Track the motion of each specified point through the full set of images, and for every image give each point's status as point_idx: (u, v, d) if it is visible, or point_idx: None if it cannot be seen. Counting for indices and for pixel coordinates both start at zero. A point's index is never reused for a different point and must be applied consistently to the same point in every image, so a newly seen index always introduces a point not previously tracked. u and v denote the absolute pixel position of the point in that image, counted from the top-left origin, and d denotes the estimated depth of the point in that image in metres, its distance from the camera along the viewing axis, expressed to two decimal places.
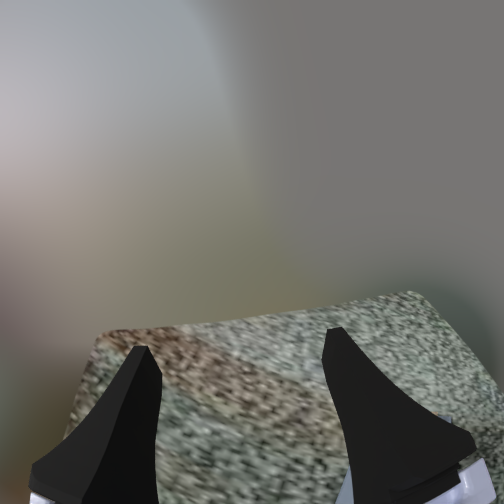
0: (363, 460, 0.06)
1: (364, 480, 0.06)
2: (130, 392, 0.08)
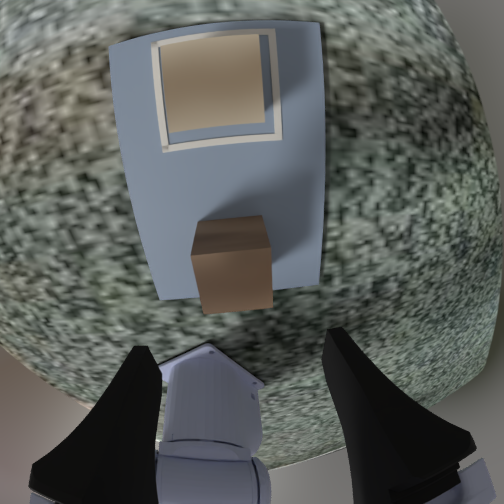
0: (363, 460, 0.06)
1: (364, 480, 0.06)
2: (130, 392, 0.08)
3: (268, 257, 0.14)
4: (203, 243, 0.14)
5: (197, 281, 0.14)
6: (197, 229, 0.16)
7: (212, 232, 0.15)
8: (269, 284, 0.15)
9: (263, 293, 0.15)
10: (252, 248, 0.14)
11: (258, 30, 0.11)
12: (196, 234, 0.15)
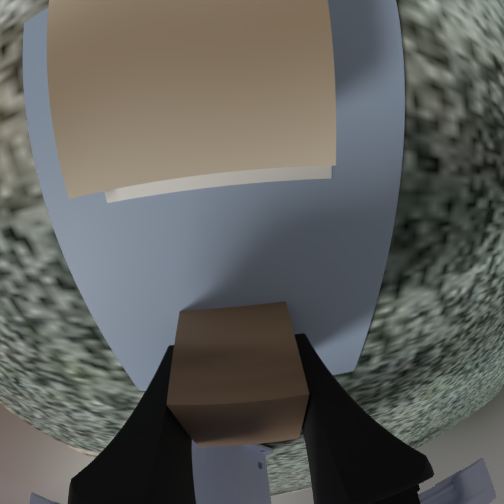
0: (318, 472, 0.06)
1: (319, 492, 0.06)
2: None
3: (302, 403, 0.07)
4: (187, 373, 0.08)
5: (183, 425, 0.07)
6: (178, 332, 0.09)
7: (203, 344, 0.09)
8: (298, 424, 0.08)
9: (287, 431, 0.08)
10: (275, 397, 0.07)
11: None
12: (176, 347, 0.08)
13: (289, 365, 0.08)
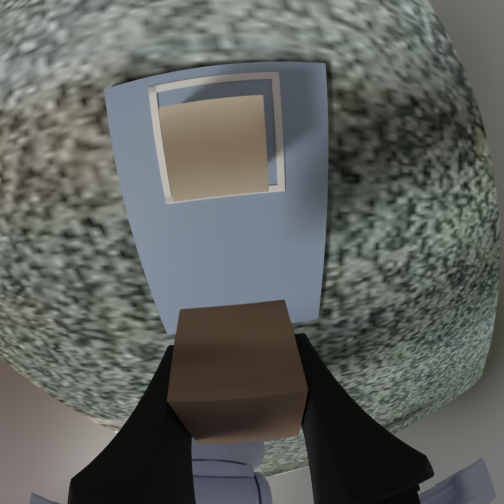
0: (318, 472, 0.06)
1: (319, 491, 0.06)
2: None
3: (301, 399, 0.07)
4: (188, 370, 0.08)
5: (183, 422, 0.08)
6: (179, 330, 0.09)
7: (203, 341, 0.09)
8: (297, 420, 0.08)
9: (286, 428, 0.08)
10: (274, 393, 0.07)
11: (261, 73, 0.12)
12: (177, 344, 0.09)
13: (288, 362, 0.08)
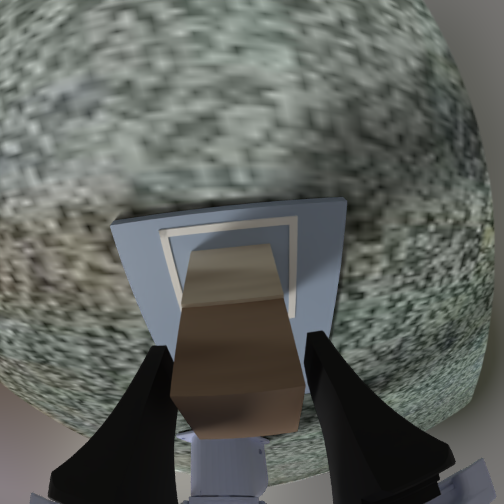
0: (340, 467, 0.06)
1: (341, 486, 0.06)
2: (152, 393, 0.08)
3: (299, 395, 0.07)
4: (190, 366, 0.08)
5: (186, 417, 0.08)
6: (181, 328, 0.10)
7: (205, 339, 0.09)
8: (296, 416, 0.08)
9: (285, 423, 0.09)
10: (273, 388, 0.07)
11: (278, 218, 0.13)
12: (179, 341, 0.09)
13: (287, 358, 0.08)
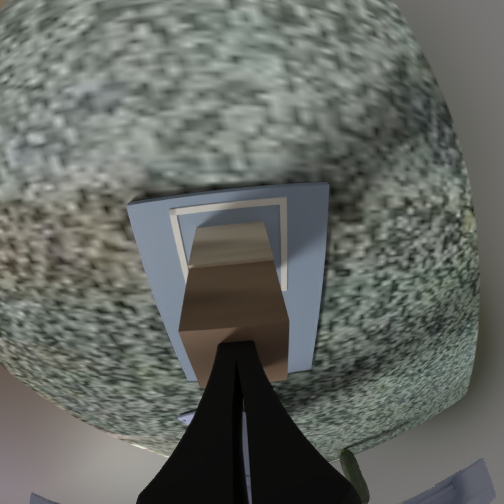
0: None
1: None
2: (234, 391, 0.08)
3: (285, 332, 0.10)
4: (195, 309, 0.10)
5: (190, 358, 0.10)
6: (188, 283, 0.12)
7: (208, 289, 0.11)
8: (284, 359, 0.11)
9: (276, 367, 0.11)
10: (263, 323, 0.10)
11: (270, 199, 0.16)
12: (186, 292, 0.11)
13: (274, 302, 0.10)
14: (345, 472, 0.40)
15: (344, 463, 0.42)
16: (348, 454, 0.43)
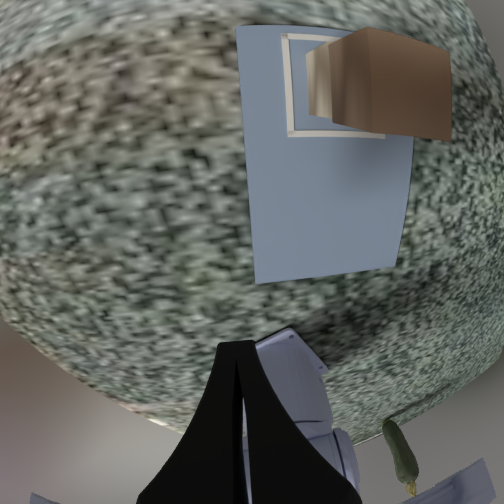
0: None
1: None
2: (234, 391, 0.08)
3: (447, 63, 0.06)
4: None
5: (372, 67, 0.07)
6: (338, 41, 0.09)
7: None
8: (449, 101, 0.07)
9: (443, 113, 0.08)
10: (432, 45, 0.06)
11: None
12: None
13: None
14: (391, 444, 0.36)
15: (389, 434, 0.38)
16: (392, 424, 0.40)
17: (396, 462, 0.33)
